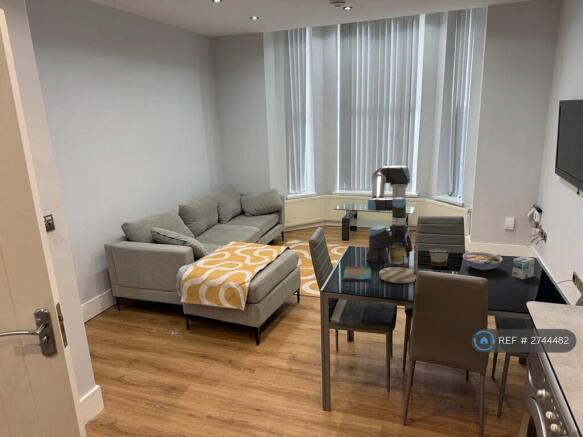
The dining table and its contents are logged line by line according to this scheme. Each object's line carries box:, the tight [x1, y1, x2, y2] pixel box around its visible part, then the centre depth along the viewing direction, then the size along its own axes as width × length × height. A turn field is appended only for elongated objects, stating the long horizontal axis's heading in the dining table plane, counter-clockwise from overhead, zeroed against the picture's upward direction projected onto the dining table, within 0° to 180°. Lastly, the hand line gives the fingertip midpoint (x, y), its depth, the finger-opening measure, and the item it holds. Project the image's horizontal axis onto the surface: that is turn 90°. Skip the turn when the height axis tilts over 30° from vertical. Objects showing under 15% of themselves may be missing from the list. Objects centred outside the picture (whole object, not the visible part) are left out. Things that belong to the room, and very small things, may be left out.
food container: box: [428, 248, 450, 267], centre depth 260 cm, size 12×6×10 cm, turn 84°
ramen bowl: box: [462, 251, 503, 271], centre depth 249 cm, size 25×23×8 cm
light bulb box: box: [511, 255, 536, 280], centre depth 234 cm, size 11×7×11 cm, turn 118°
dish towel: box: [342, 266, 372, 283], centre depth 248 cm, size 17×23×2 cm
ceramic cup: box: [389, 244, 406, 265], centre depth 235 cm, size 13×10×10 cm
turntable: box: [378, 245, 419, 284], centre depth 236 cm, size 22×22×19 cm
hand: (398, 261), depth 236 cm, fingers closed on ceramic cup, 9 cm apart
